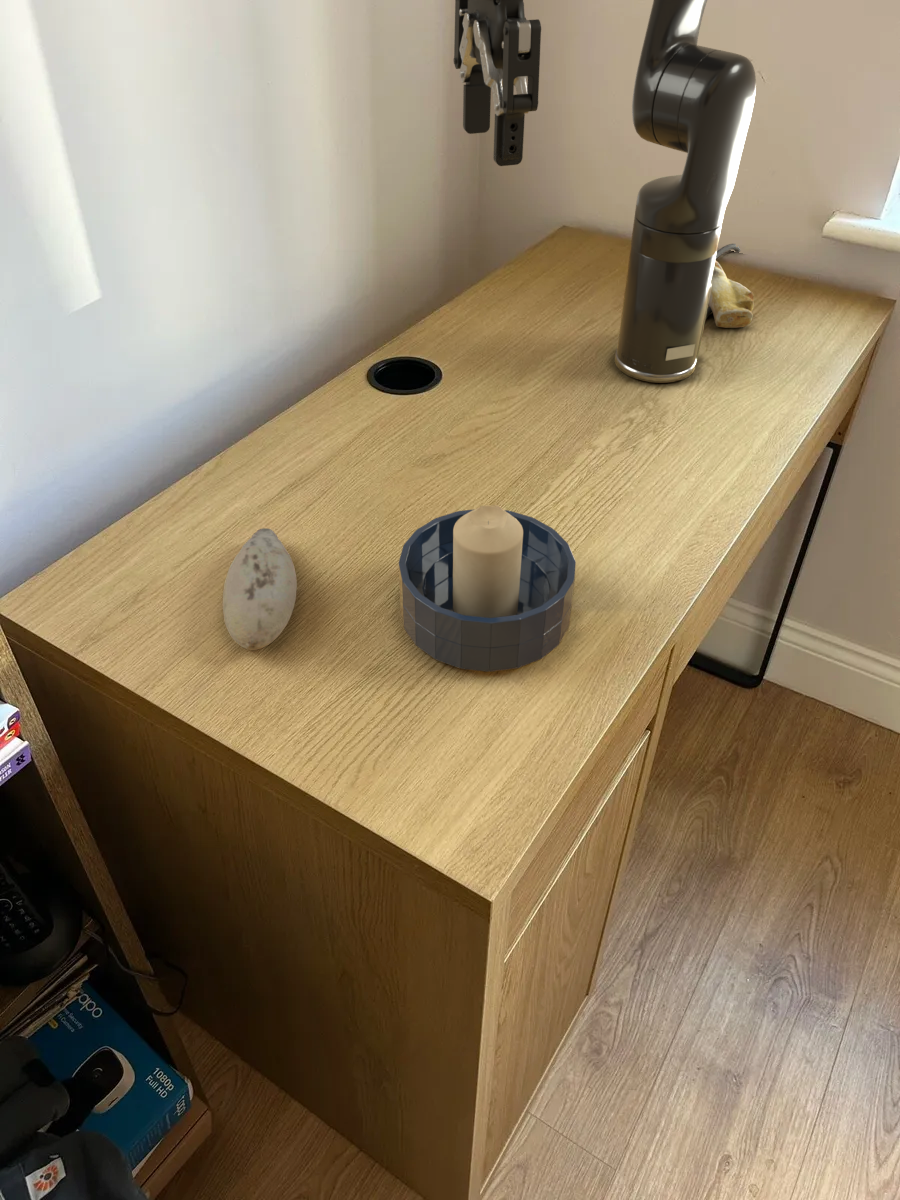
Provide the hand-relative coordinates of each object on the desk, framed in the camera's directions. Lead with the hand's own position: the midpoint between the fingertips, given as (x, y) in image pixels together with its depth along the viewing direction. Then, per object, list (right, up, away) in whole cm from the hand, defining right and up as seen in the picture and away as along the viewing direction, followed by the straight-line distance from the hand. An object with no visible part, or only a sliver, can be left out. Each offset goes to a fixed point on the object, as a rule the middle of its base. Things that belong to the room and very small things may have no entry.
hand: (491, 147), depth 80 cm
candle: (0, -39, +2) cm, 39 cm away
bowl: (0, -39, +2) cm, 39 cm away
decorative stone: (-20, -38, +3) cm, 43 cm away
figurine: (+32, +1, +46) cm, 56 cm away
